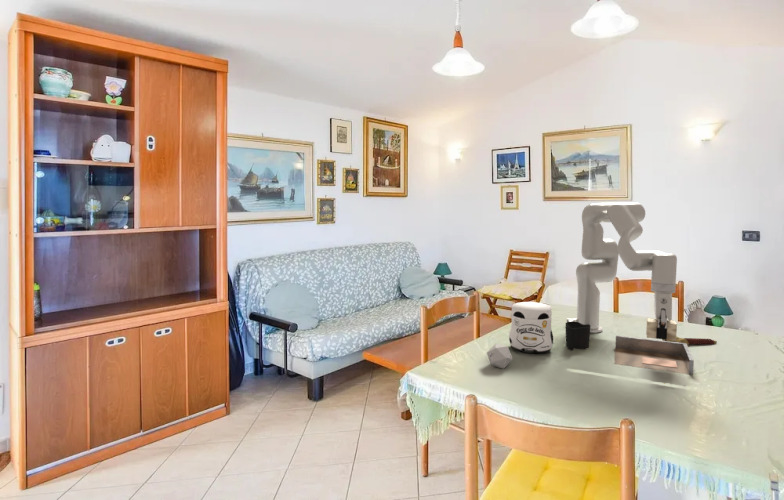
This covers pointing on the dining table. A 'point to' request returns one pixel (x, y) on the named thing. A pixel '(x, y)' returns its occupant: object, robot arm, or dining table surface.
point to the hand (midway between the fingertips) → (660, 336)
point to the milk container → (531, 327)
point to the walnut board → (650, 360)
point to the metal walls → (657, 348)
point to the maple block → (653, 325)
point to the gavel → (693, 341)
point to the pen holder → (577, 335)
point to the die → (499, 356)
